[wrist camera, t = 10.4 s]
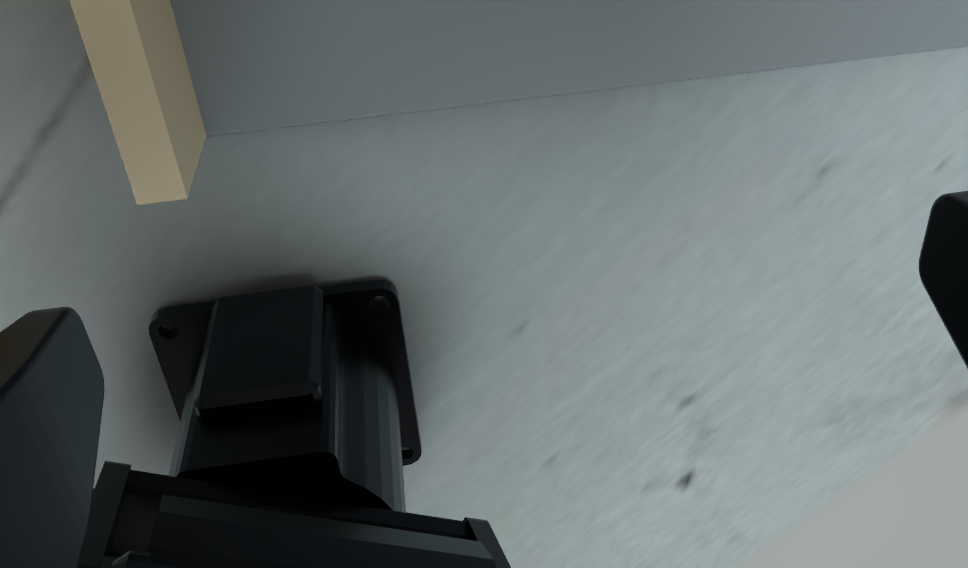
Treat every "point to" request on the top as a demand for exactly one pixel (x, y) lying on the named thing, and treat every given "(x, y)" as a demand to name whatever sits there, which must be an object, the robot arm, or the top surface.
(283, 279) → the top surface
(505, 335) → the top surface
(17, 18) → the top surface
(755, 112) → the top surface
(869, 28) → the board
